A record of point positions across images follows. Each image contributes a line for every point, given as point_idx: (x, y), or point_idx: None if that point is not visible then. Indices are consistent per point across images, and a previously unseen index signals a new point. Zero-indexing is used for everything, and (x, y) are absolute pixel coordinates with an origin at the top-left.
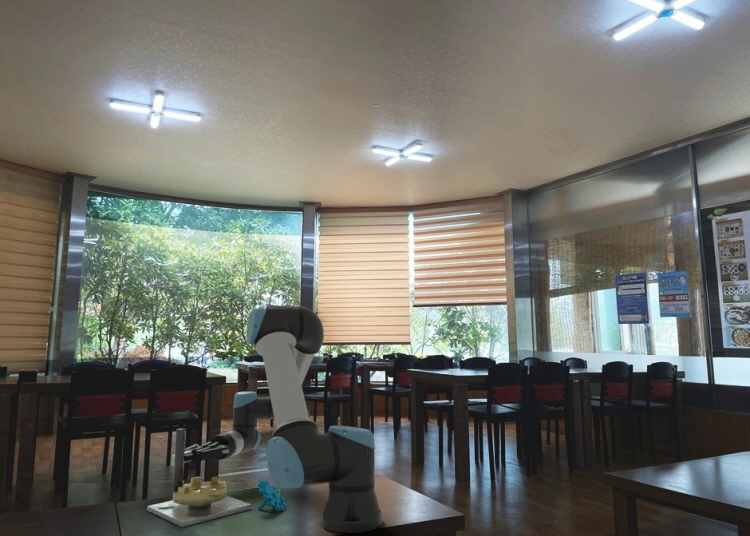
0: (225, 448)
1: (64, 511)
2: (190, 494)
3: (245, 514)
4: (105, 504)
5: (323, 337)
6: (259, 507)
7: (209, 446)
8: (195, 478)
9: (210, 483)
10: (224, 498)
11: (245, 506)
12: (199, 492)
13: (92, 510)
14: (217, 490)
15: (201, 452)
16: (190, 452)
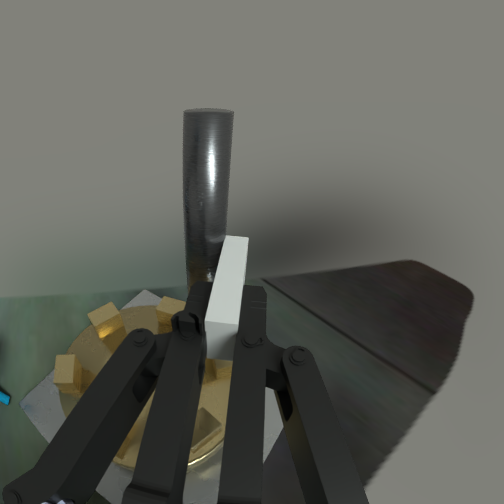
0: (21, 480)
1: (446, 322)
2: (146, 308)
3: (34, 371)
4: (439, 376)
5: None
6: (5, 394)
7: (143, 489)
8: None
9: (132, 436)
10: (106, 472)
11: (31, 392)
12: (126, 325)
13: (418, 341)
14: (78, 346)
15: (136, 332)
16: (206, 316)
